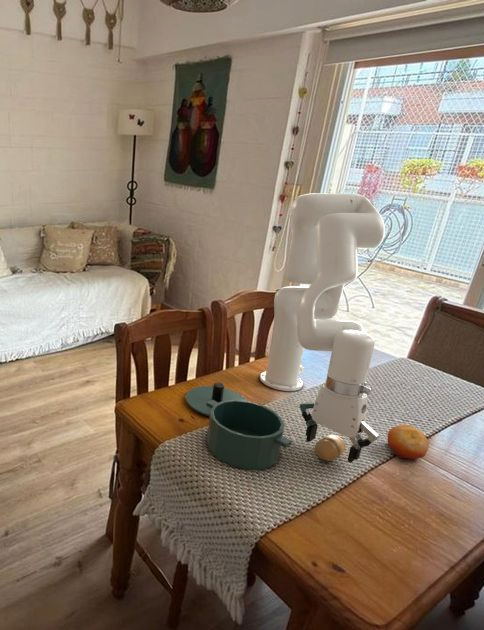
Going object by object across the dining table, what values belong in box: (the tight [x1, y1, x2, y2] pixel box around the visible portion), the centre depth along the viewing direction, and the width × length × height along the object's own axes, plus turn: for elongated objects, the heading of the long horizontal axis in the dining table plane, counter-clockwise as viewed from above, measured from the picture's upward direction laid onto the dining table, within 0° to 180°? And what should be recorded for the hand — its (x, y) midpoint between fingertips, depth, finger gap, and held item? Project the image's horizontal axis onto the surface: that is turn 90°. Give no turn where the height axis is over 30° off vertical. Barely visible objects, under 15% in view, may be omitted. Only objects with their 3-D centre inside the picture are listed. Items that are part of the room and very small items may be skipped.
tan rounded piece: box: [314, 434, 346, 462], centre depth 104 cm, size 8×5×5 cm, turn 126°
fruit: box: [386, 424, 430, 460], centre depth 105 cm, size 8×8×8 cm
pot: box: [206, 400, 293, 471], centre depth 106 cm, size 17×22×8 cm
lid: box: [185, 382, 248, 417], centre depth 126 cm, size 18×18×6 cm
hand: (330, 449), depth 104 cm, fingers open, 9 cm apart
